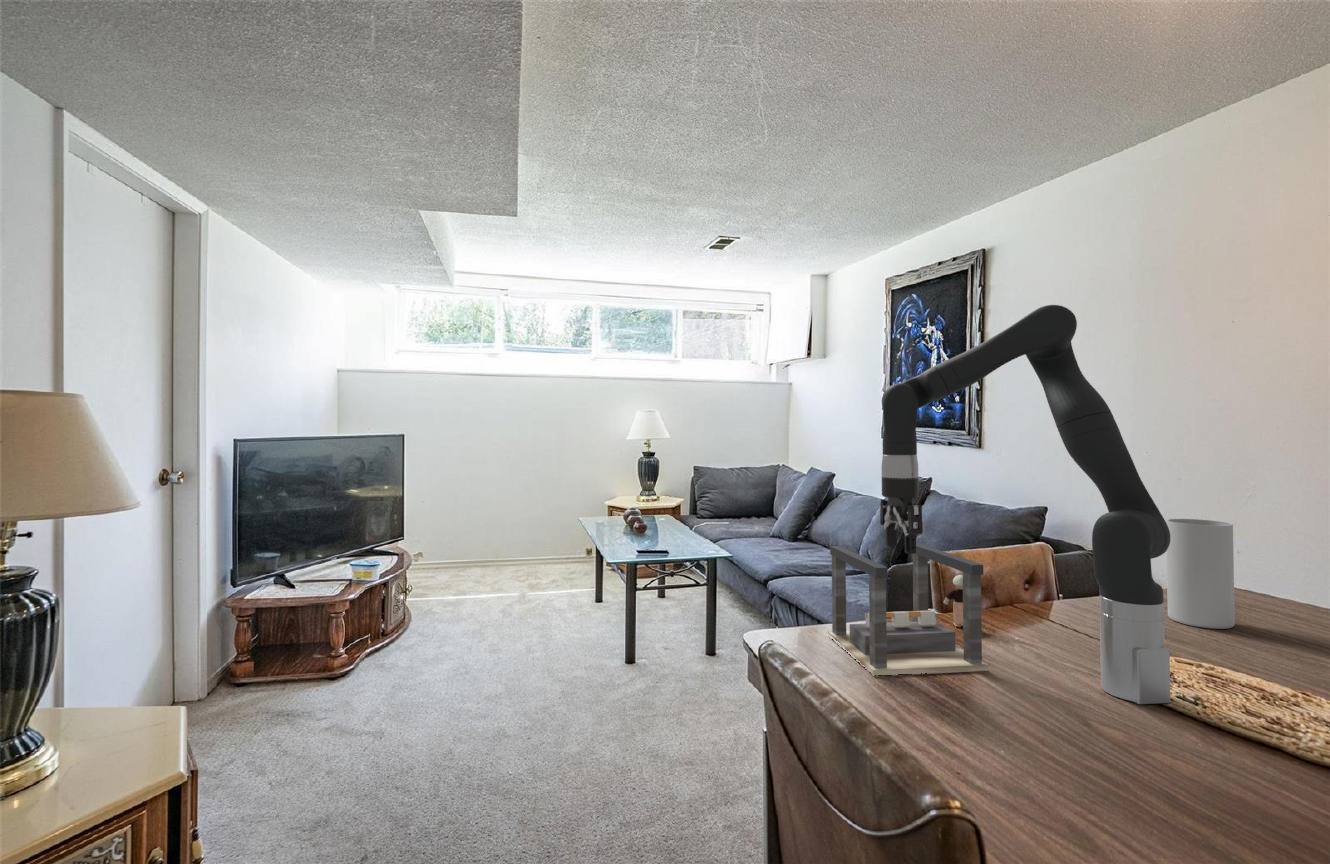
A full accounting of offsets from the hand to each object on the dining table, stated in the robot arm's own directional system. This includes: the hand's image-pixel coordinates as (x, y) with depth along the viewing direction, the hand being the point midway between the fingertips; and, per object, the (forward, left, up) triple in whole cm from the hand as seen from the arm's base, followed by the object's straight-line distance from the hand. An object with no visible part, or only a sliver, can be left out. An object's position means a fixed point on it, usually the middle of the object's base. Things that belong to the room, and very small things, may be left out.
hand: (900, 549), depth 131 cm
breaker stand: (0, 0, -22) cm, 22 cm away
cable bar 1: (0, +10, -3) cm, 11 cm away
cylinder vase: (+11, -84, -22) cm, 88 cm away
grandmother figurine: (+15, -23, -22) cm, 35 cm away
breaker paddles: (0, 0, -17) cm, 17 cm away
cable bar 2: (0, -10, -3) cm, 10 cm away
